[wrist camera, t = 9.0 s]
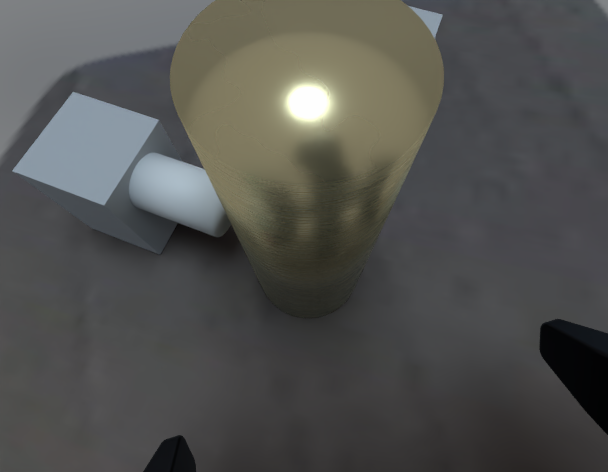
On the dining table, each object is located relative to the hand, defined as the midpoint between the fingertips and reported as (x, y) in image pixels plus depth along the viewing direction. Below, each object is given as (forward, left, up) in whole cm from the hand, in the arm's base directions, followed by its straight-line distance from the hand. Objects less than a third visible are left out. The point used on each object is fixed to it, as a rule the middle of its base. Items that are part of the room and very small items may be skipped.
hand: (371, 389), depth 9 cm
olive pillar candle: (+4, +4, -8) cm, 10 cm away
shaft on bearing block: (+3, +11, -8) cm, 14 cm away
